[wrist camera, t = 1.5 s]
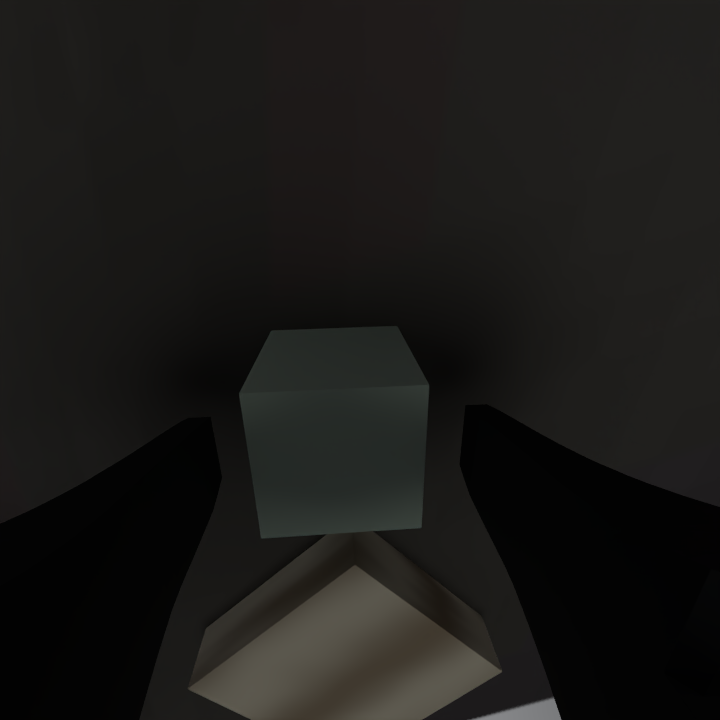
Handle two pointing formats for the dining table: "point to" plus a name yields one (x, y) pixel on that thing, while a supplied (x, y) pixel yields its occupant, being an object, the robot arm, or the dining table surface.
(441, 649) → the birch block
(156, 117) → the dining table surface
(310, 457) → the sage block
